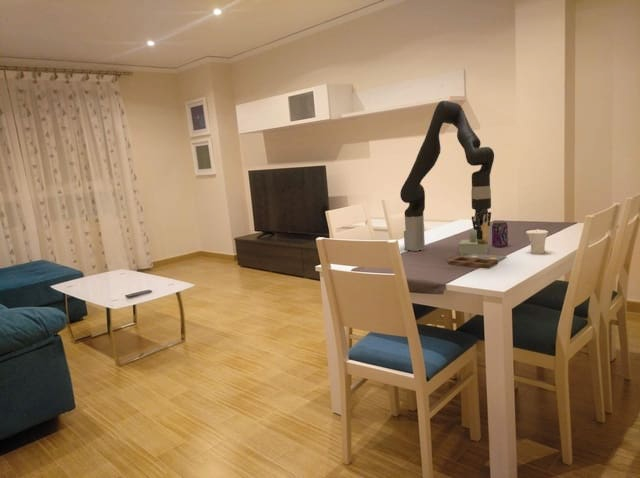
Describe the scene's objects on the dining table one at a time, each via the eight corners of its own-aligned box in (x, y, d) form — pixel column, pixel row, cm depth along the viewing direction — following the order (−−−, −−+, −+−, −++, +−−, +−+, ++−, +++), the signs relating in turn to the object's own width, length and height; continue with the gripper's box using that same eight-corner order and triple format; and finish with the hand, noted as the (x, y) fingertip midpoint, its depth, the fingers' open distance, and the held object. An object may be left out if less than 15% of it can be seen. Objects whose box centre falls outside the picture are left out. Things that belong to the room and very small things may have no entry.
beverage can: (498, 248, 221) (497, 223, 219) (489, 245, 228) (488, 221, 225) (510, 246, 223) (510, 221, 220) (501, 244, 229) (501, 220, 227)
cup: (548, 250, 207) (549, 229, 206) (547, 255, 200) (547, 232, 198) (527, 250, 212) (527, 228, 210) (524, 254, 204) (524, 232, 202)
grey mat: (460, 259, 205) (460, 258, 204) (471, 254, 212) (471, 253, 212) (496, 263, 194) (496, 261, 193) (506, 257, 201) (506, 256, 201)
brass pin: (475, 243, 191) (474, 222, 190) (480, 242, 194) (480, 221, 192) (484, 244, 188) (483, 223, 187) (489, 243, 191) (489, 221, 189)
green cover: (458, 253, 217) (458, 230, 215) (462, 249, 225) (461, 227, 223) (485, 254, 211) (485, 231, 209) (488, 250, 219) (488, 227, 217)
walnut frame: (448, 264, 198) (448, 260, 198) (458, 259, 205) (458, 256, 205) (488, 268, 186) (488, 264, 186) (498, 263, 192) (498, 260, 192)
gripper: (479, 195, 195) (480, 234, 198) (464, 199, 185) (465, 241, 188) (497, 195, 190) (498, 235, 193) (482, 199, 180) (483, 242, 183)
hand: (482, 238), depth 191 cm, fingers closed on brass pin, 4 cm apart
